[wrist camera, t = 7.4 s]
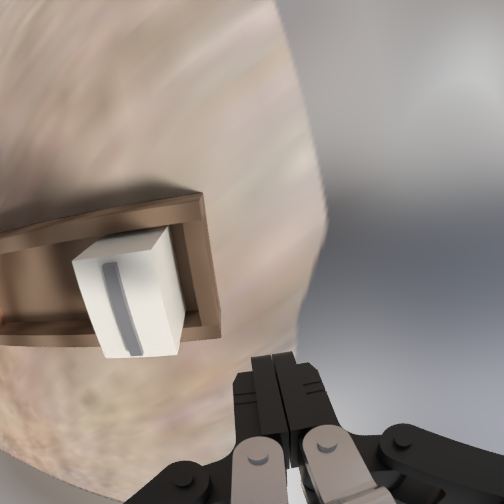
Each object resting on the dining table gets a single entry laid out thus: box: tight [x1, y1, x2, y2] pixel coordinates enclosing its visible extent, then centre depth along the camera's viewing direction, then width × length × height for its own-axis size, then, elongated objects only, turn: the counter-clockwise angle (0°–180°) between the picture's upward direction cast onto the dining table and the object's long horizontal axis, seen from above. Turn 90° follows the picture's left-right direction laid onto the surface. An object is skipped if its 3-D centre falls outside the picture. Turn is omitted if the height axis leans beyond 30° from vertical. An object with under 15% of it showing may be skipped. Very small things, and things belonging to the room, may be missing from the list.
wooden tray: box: [0, 193, 221, 347], centre depth 21 cm, size 24×10×4 cm, turn 96°
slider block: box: [72, 225, 186, 358], centre depth 19 cm, size 5×7×6 cm
